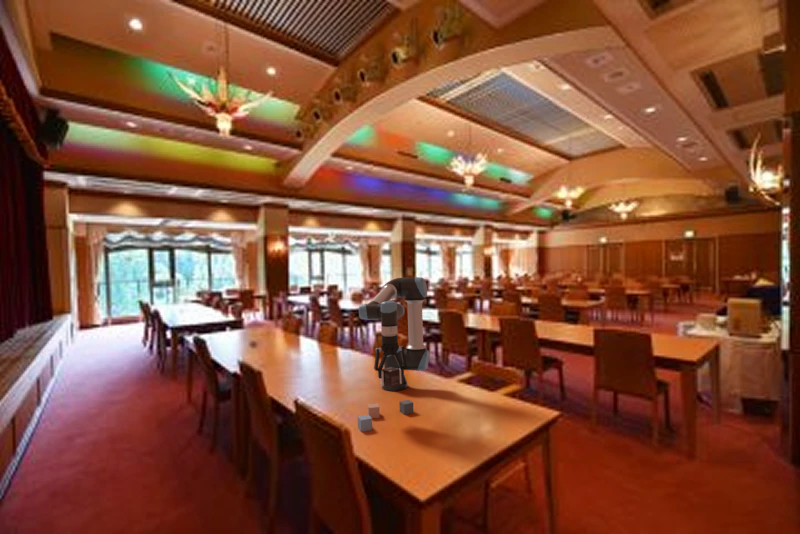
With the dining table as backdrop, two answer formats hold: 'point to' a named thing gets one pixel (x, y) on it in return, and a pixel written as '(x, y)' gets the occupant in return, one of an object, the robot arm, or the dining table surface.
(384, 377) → the box
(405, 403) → the cube charcoal
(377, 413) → the cube terracotta
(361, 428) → the cube slate
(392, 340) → the robot arm
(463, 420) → the dining table surface
